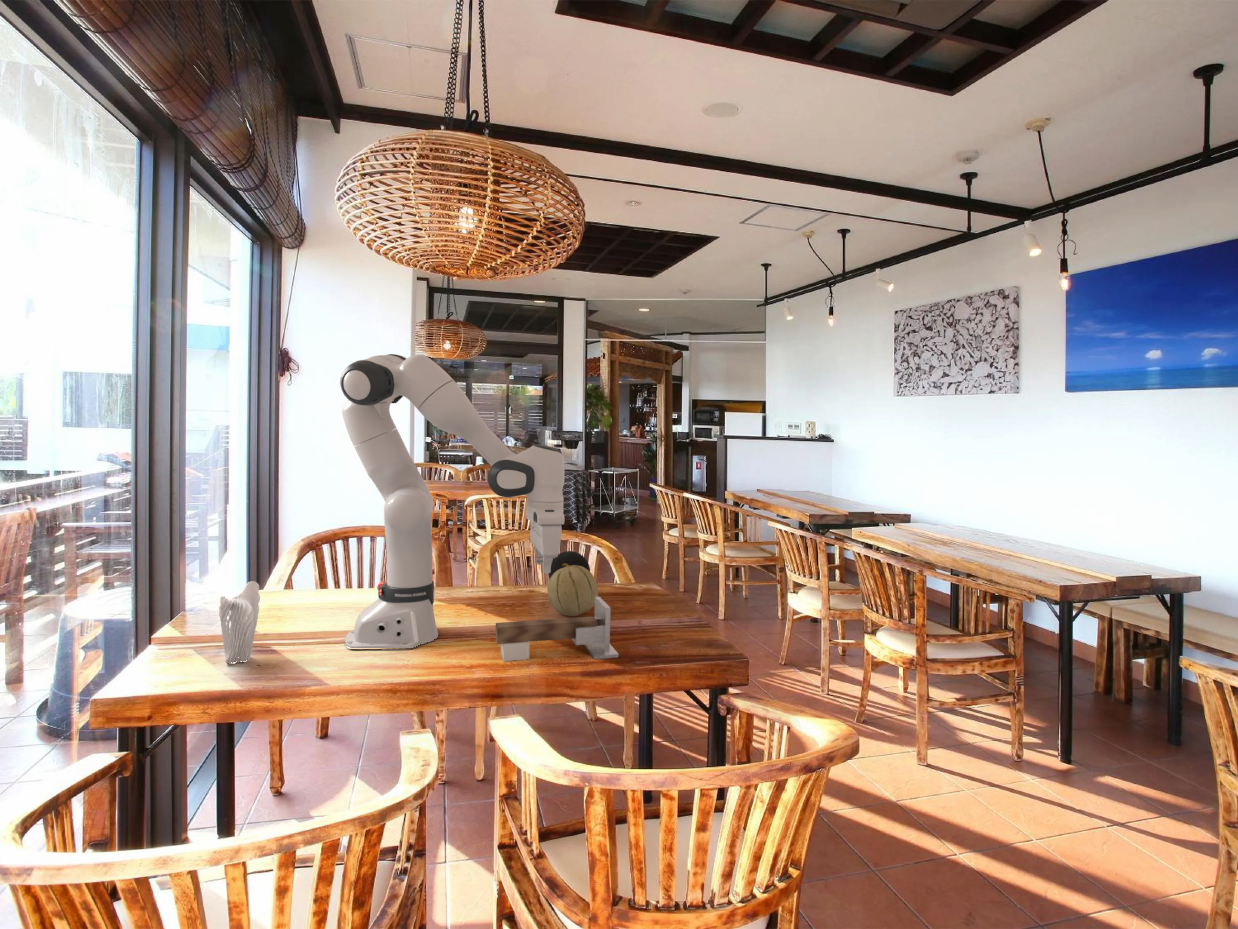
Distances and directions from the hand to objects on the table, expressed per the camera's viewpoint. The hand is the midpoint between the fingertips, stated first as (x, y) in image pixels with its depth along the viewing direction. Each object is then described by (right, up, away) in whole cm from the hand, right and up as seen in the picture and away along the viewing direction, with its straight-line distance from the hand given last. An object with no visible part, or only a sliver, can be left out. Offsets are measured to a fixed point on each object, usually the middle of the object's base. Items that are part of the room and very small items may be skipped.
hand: (542, 568), depth 165 cm
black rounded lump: (+3, -17, +49) cm, 52 cm away
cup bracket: (+12, -21, +2) cm, 24 cm away
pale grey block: (-6, -21, -4) cm, 22 cm away
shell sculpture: (-68, -20, -11) cm, 71 cm away
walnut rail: (+1, -17, -2) cm, 17 cm away
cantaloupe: (+5, -19, +31) cm, 37 cm away
